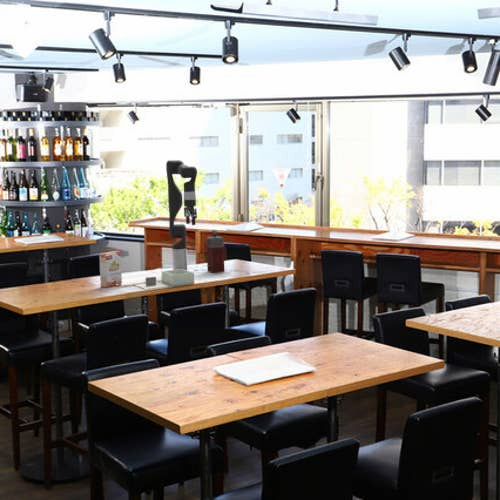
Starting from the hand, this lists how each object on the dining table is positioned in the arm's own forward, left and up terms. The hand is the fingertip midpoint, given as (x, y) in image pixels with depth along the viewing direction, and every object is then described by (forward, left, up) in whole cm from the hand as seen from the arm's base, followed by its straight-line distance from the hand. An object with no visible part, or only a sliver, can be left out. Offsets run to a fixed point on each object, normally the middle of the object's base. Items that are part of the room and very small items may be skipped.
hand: (190, 224), depth 534 cm
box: (+4, -12, -36) cm, 38 cm away
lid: (+4, -30, -36) cm, 47 cm away
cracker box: (-14, -49, -36) cm, 62 cm away
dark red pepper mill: (-21, +28, -36) cm, 50 cm away
